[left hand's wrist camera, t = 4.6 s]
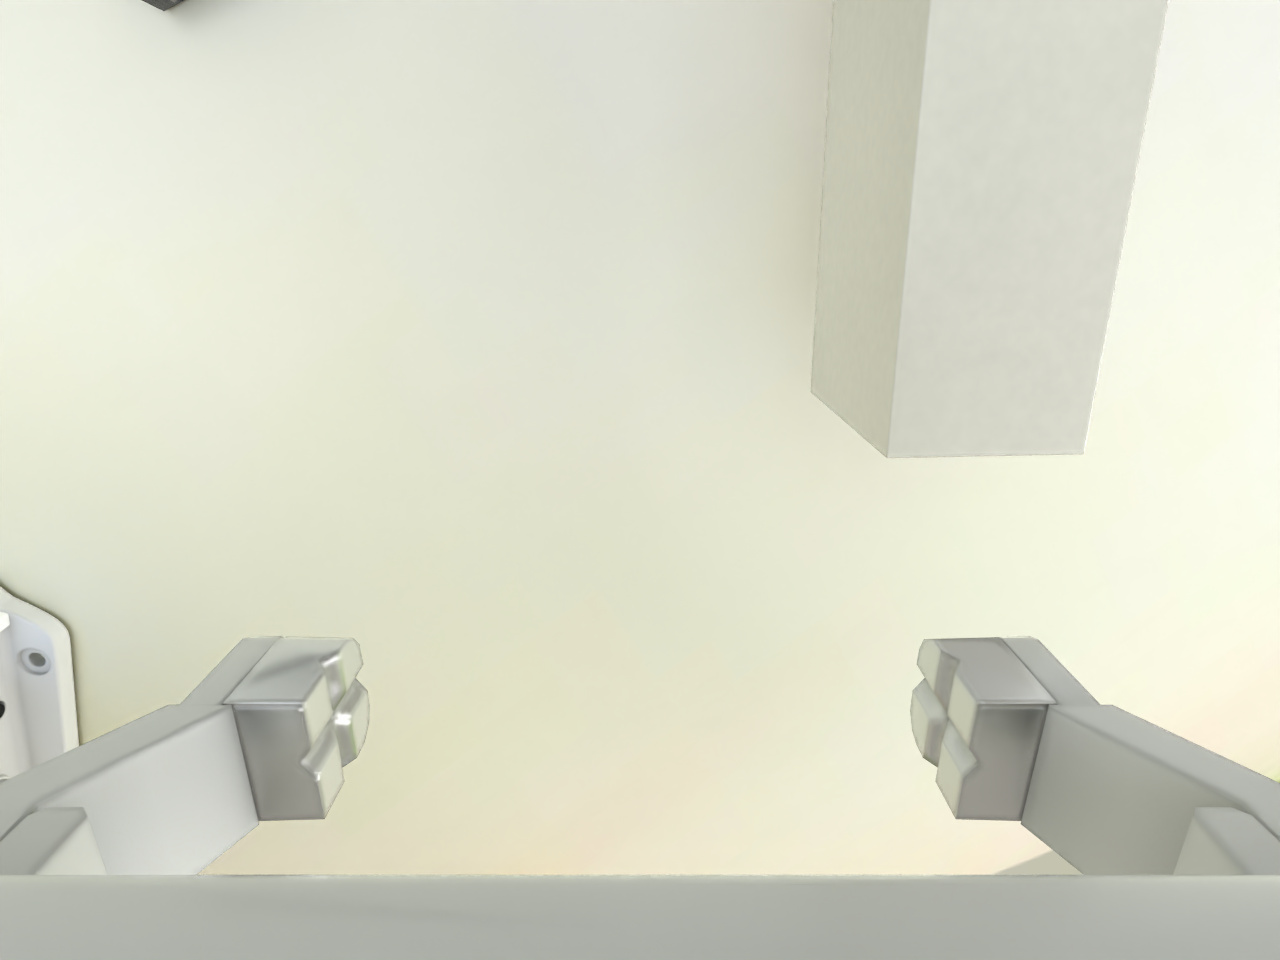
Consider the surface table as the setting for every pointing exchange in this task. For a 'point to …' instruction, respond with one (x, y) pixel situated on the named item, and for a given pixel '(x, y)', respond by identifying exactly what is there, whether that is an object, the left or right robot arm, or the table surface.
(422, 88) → the table surface
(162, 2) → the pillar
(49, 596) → the table surface
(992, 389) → the bar
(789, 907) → the left robot arm
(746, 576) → the table surface
